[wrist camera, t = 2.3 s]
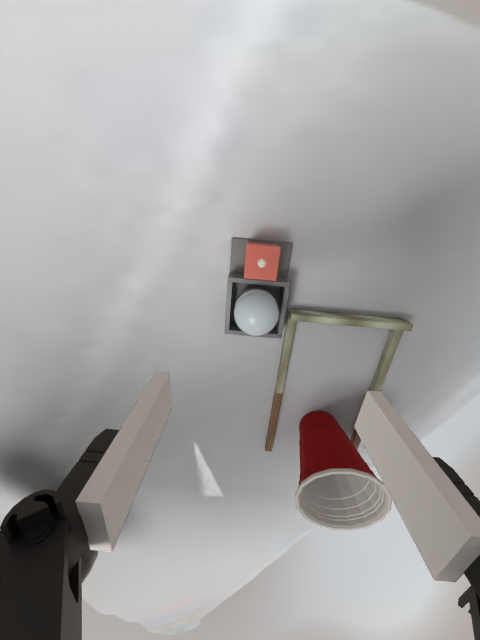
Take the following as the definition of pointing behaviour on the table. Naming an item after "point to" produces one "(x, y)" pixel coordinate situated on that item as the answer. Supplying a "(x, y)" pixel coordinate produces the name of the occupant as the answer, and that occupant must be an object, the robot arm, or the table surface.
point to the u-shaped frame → (339, 319)
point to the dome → (256, 311)
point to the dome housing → (258, 278)
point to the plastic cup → (336, 478)
